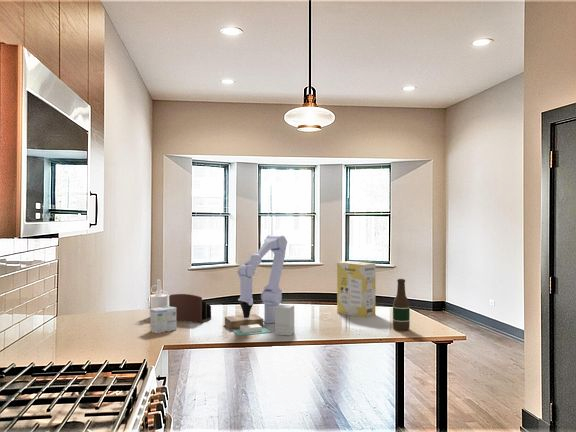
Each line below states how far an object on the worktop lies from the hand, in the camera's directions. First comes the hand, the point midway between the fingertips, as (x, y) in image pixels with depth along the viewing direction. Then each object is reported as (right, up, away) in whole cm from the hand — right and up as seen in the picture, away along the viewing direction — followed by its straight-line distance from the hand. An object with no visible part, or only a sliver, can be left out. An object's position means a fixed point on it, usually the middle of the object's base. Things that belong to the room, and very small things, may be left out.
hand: (246, 317), depth 244 cm
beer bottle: (+74, -5, -4) cm, 74 cm away
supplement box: (+19, -5, -12) cm, 23 cm away
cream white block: (+3, -3, -7) cm, 8 cm away
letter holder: (-31, -5, +19) cm, 36 cm away
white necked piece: (-48, -5, +26) cm, 55 cm away
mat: (+3, -5, -8) cm, 10 cm away
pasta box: (+58, -5, +33) cm, 67 cm away
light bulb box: (-39, -5, -6) cm, 40 cm away
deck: (-2, -5, +4) cm, 6 cm away
